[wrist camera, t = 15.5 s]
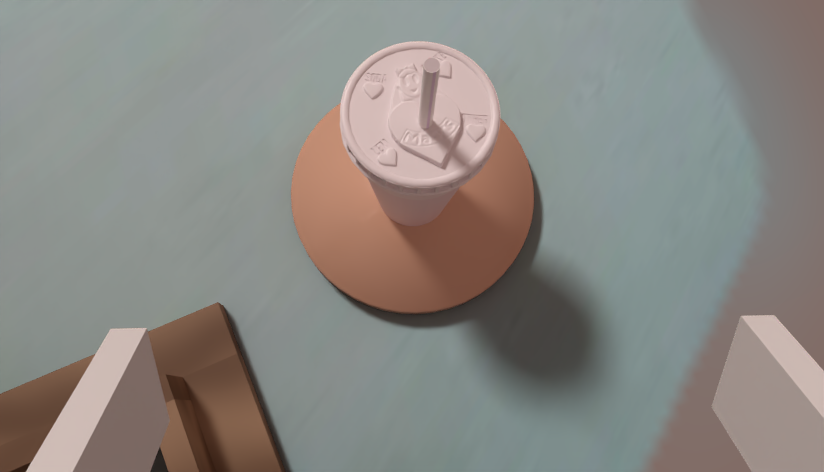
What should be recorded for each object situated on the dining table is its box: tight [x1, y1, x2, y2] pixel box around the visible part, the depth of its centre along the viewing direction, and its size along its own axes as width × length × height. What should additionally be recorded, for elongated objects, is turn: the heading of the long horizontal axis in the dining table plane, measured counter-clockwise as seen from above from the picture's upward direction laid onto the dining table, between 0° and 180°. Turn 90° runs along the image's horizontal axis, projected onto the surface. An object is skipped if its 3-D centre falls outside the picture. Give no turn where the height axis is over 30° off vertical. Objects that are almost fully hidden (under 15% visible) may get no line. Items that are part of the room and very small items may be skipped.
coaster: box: [291, 103, 534, 314], centre depth 35 cm, size 13×13×1 cm
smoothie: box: [340, 41, 500, 226], centre depth 27 cm, size 6×6×14 cm
